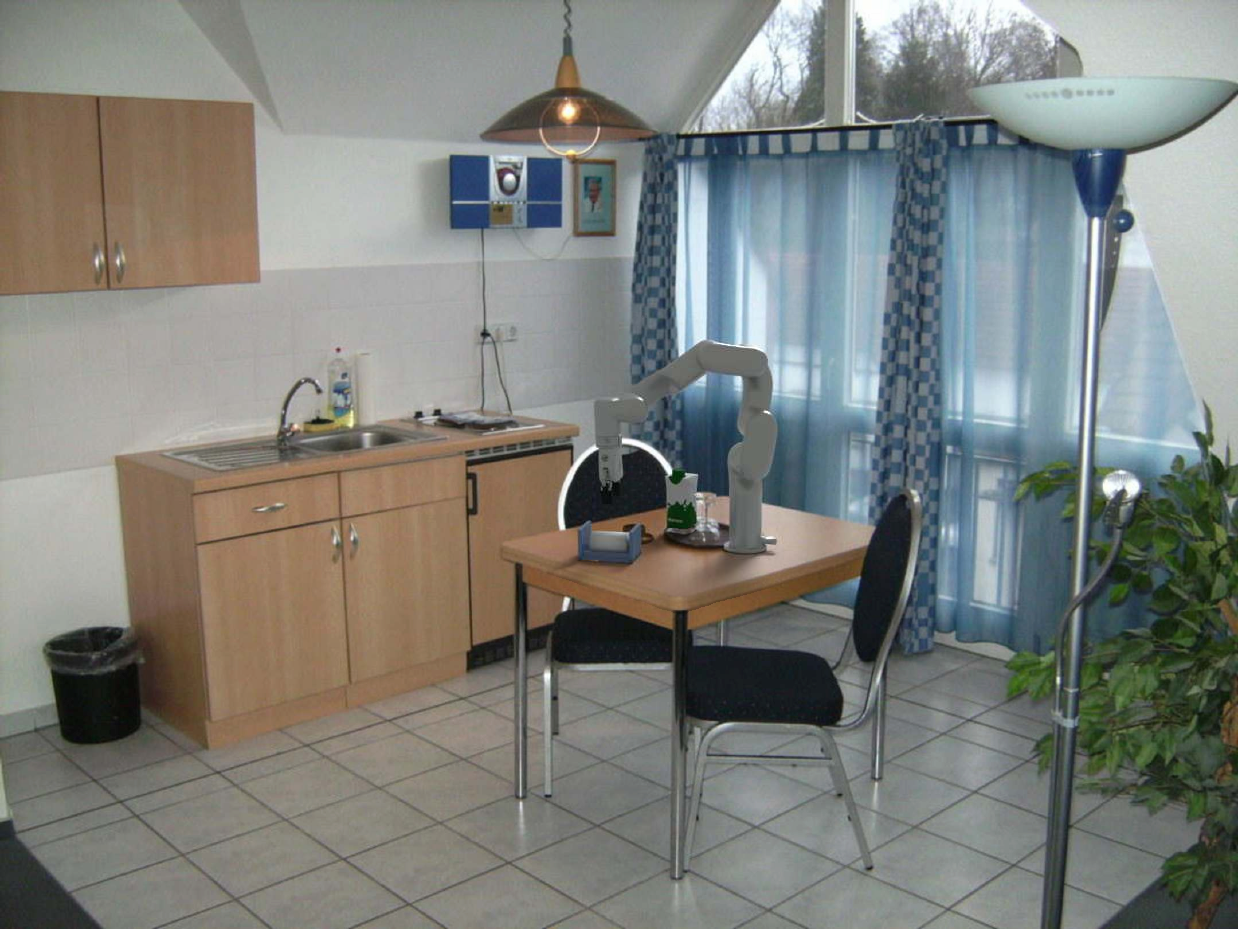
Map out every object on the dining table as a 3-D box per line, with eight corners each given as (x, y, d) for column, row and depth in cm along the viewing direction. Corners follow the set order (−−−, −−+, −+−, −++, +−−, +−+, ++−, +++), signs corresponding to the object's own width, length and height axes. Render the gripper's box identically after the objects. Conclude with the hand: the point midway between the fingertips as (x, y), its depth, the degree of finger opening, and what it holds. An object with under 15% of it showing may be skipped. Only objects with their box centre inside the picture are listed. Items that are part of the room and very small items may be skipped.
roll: (633, 551, 368) (632, 529, 367) (628, 557, 362) (627, 536, 361) (593, 549, 371) (592, 528, 369) (587, 555, 365) (586, 534, 363)
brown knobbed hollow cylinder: (669, 542, 384) (669, 523, 383) (626, 556, 370) (625, 536, 368) (625, 533, 396) (625, 515, 395) (582, 546, 381) (581, 527, 380)
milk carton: (662, 533, 393) (662, 469, 389) (677, 526, 401) (676, 464, 397) (687, 536, 389) (687, 472, 385) (701, 530, 396) (701, 467, 392)
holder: (641, 553, 370) (641, 523, 368) (632, 563, 359) (632, 532, 358) (588, 550, 374) (587, 520, 372) (578, 560, 363) (577, 529, 361)
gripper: (614, 446, 351) (617, 507, 354) (628, 435, 367) (630, 493, 371) (588, 446, 353) (591, 506, 356) (603, 435, 369) (605, 493, 373)
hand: (611, 499), depth 363 cm, fingers open, 9 cm apart
